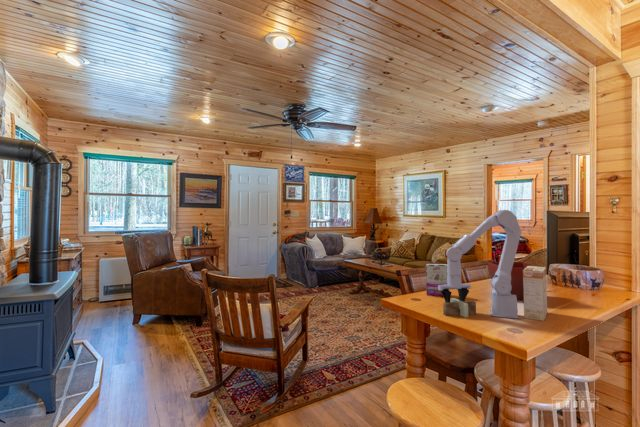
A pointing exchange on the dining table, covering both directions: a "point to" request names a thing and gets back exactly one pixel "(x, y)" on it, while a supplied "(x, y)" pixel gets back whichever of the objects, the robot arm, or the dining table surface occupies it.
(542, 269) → the coffeecake box
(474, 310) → the base plate
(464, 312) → the sage plate
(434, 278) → the candy bar box
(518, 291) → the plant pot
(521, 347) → the dining table surface
